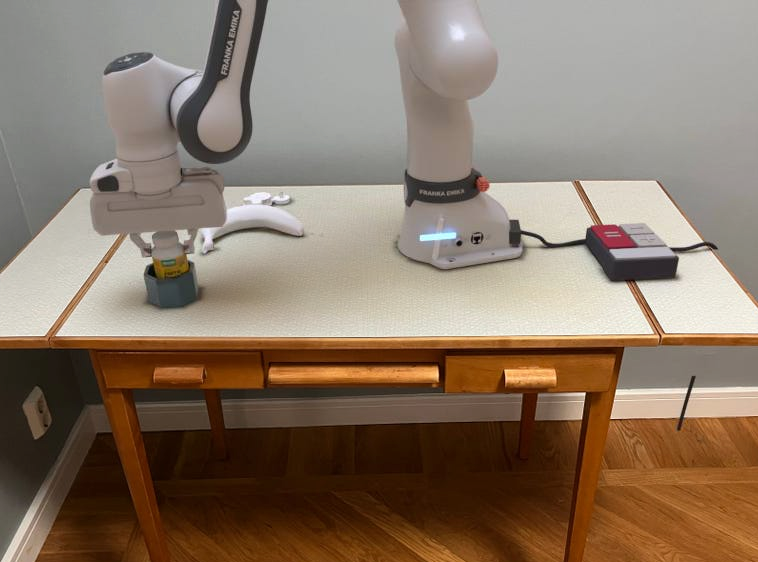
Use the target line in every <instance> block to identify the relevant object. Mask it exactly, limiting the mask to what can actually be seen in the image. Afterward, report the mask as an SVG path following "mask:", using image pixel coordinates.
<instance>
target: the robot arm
mask: <svg viewBox="0 0 758 562" xmlns="http://www.w3.org/2000/svg"><path fill="white" fill-rule="evenodd" d="M213 2H214V7H213V8H214V9H213V10H214V11H213V21H212V26H211V31H210V36H209V40H208V41H209V42H208V45H207V52H206V56H205V60H204V65H203V70H202V69H194V68H188V67H184V66H181V65H177V64H173V63H171V62H169V61H166V60H163V59H162V58H160V57H158V56H156V55H155V54H154V53H153V52H147V51H140V52H132V53H128V54H125V55H122V56H120V57H118V58H116V59H114V60H113V61H111V62H109V63H108V65H107V66H106V67H105V69H104V71H103V73H102V79H101V82H102V83H101V84H102V95H103V101H104V107H105V112H106V117H107V121H108V122H107V123H108V125H109V129H110V130H111V132H112V134H113V136H114V139H115V155H116V158H113V159H112V160H109V161H106V162H104V163H102V164H99V165H98V166H96V169H94V171H93V172H92V174H91V176H90V179H89V183H88V185H89V187H90V190H91V192H92V194H91V196H90V198H89V211H90V218H91V224H92V228H93V230H94V232H96V233H97V234H98V235H99V236H101V237H102V236H103V237H105V236H117V235H118V236H119V235H129V239H130V241H131V242H132V243H133V244H134V245H135V246H136V247H137V248H138V249H139V251H140V254H141V257H142V258H145V259H146V258H152V255H151V251H152V248H153V247H152V242H145V239H143V238H142V237H141V234H142V233H145V234H146V233H155V232H159V231H172V230H175V231H185V230H186V231H187V235H188V236H189V238H188V240H183V243H182V244H183V248H184V253H185V254H186V255H195V251H196V248H195V240H196V239H197V236H198V233H199V229H200V228H214V227H222V226H223V225H224V224H225V222H226V220H227V209H228V208H227V204H226V200H225V197H224V195H223V193H224V191H225V181H224V176H223V175H222V173H221V172H220V171H219V170H217V169H214V168H212V167H211V166H202V167H183V168H182V165H181V160H180V153H179V148H178V143H181V145H182V147H183V149H184V150H185V151H186V152H187V154H189V155H190V156H191V157H192V158H193V159H195V160H196V161H199V162H202V163H204V164H208V165H223V164H225V163H229V162H231V161H233V160H235V159H236V158H238V157H239V156H241V154H242V153H243V152H244V151H245V150H246V149H247V147H248V145H249V143H250V142H251V139H252V135H253V116H252V109H251V98H250V97H251V86H252V81H253V77H254V71H255V67H256V62H257V57H258V54H259V53H258V52H259V49H260V44H261V40H262V33H263V30H264V26H265V25H264V24H265V20H266V15H267V9H268V4H269V0H213ZM397 3H398V5H399V8H400V11H401V13H402V15H403V18H402V19H401V20H400V22H399V23H398V25H397V28H396V30H395V33H394V48H395V52H396V55H397V60H398V68H399V76H400V82H401V83H400V84H401V93H402V98H403V99H402V100H403V105H404V106H403V107H404V111H405V120H406V169H405V170H404V175H403V176H404V178H403V201H404V204H405V206H404V212H403V213H404V215H403V220H402V224H401V231H400V234H399V237H398V240H397V245H396V246H397V249H398V250H399V252H400V253H401V254H402V255H404V256H406V257H407V258H409V259H412V260H414V261H418V262H422V263H426V264H430V265H432V266H434V267H436V268H438V269H441V270H451V269H457V268H462V267H463V268H464V267H468V266H469V267H470V266H475V265H480V264H487V263H492V262H493V263H494V262H499V261H505V260H511V259H516V258H520V257H521V255H522V253H523V240H522V235H523V236H528V237H530V238H534V239H537V240H539V241H540V242H541V243H542V244H543V246H545V247H548V248H552V249H553V248H555V249H556V248H565V247H571V246H574V245H579V244H580V245H582V244H585V243H586V239H585V238H581V239H575V240H571V241H567V242H561V243H552V242H550V241H549V242H548V241H547V240H546V239H545V238H544V237H543V236H541V234H537V233H535V232H532V231H526V230H522V228H521V225H520V221H519V219H510V217H509V214H508V212H507V210H506V208H505V207H504V206H503V205H502V204H501V203H500V201H498V200H496V199H495V198H494V197H492V196H491V195H490V194H488V193H486V192H488V190H489V189H490V186H491V185H490V182H489V180H488V179H487V178H486V177H484V176H483V175H482V173H481V172H480V171H478V170H477V169H476V167H474V166H473V165H472V164H473V149H474V148H473V147H474V132H475V131H474V130H475V128H474V120H473V118H472V115H471V112H470V108H469V102H468V101H470V100H473V99H476V98H478V97H480V96H481V95H483V94H484V93H485V92H486V91H487V90H488V89H489V88H490V87H491V85H492V84H493V82H494V80H495V78H496V76H497V73H498V67H499V56H498V52H497V49H496V47H495V45H494V43H493V41H492V40H491V38H490V36H489V34H488V32H487V29H486V26H485V24H484V23H485V22H484V20H483V17H482V14H481V9H480V8H479V5H478V2H477V0H397ZM668 247H669V246H668ZM703 247H709V248H711V249H712V250H715V251H718V250H719V247H718V246H717V245H716V244H715V243H713V242H710V241H702V242H698V243H695V244H692V245H689V246H681V247H679V246H678V247H677V246H675V247H673V246H671V247H669V248H670V249H671V250H672V251H673V252H674V253H676V252H678V253H679V252H688V251H694V250H697V249H699V248H703ZM696 378H697V375H691V378H690V381H689V384H688V388H687V390H686V394H685V397H684V401H683V404H682V408H681V411H680V415H679V419H678V423H677V426H676V431H678V432H679V431H681V430H682V426H683V421H684V418H685V414H686V410H687V407H688V403H689V400H690V397H691V393H692V391H693V388H694V383H695V380H696Z"/></svg>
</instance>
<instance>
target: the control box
mask: <svg viewBox="0 0 758 562" xmlns="http://www.w3.org/2000/svg"><path fill="white" fill-rule="evenodd" d="M584 239H586V243H584V244H585V245H586V246H587V248H588V249H589V250H590V252H591V253H592V254H593V255H594V256H595V258H596V259H597V260H598V261H599V262H600V264H601V266H602V268H603V272H604V273H605V274H606V276H607V277H608V279H609V280H611V281H630V280H631V281H632V280H633V281H634V280H651V279H653V280H654V279H672V278H673V279H674V278H676V275H677V270H678V265H679V261H680V257H679V256H678V255H677V254H676V252H673V251H672V250H671V249H670V248H669V246H668V245H667V242H665V241H664V240H662V238H661V237H660V236H659V235H658V234H656V233H655V231H653V229H652V228H651V227H649V226H648V225H647V224H646V223H645V222H637V223H620V224H619V225H617V224H614V223H613V224H593V225H590V227H587V228H586V231H585V238H584Z"/></svg>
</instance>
